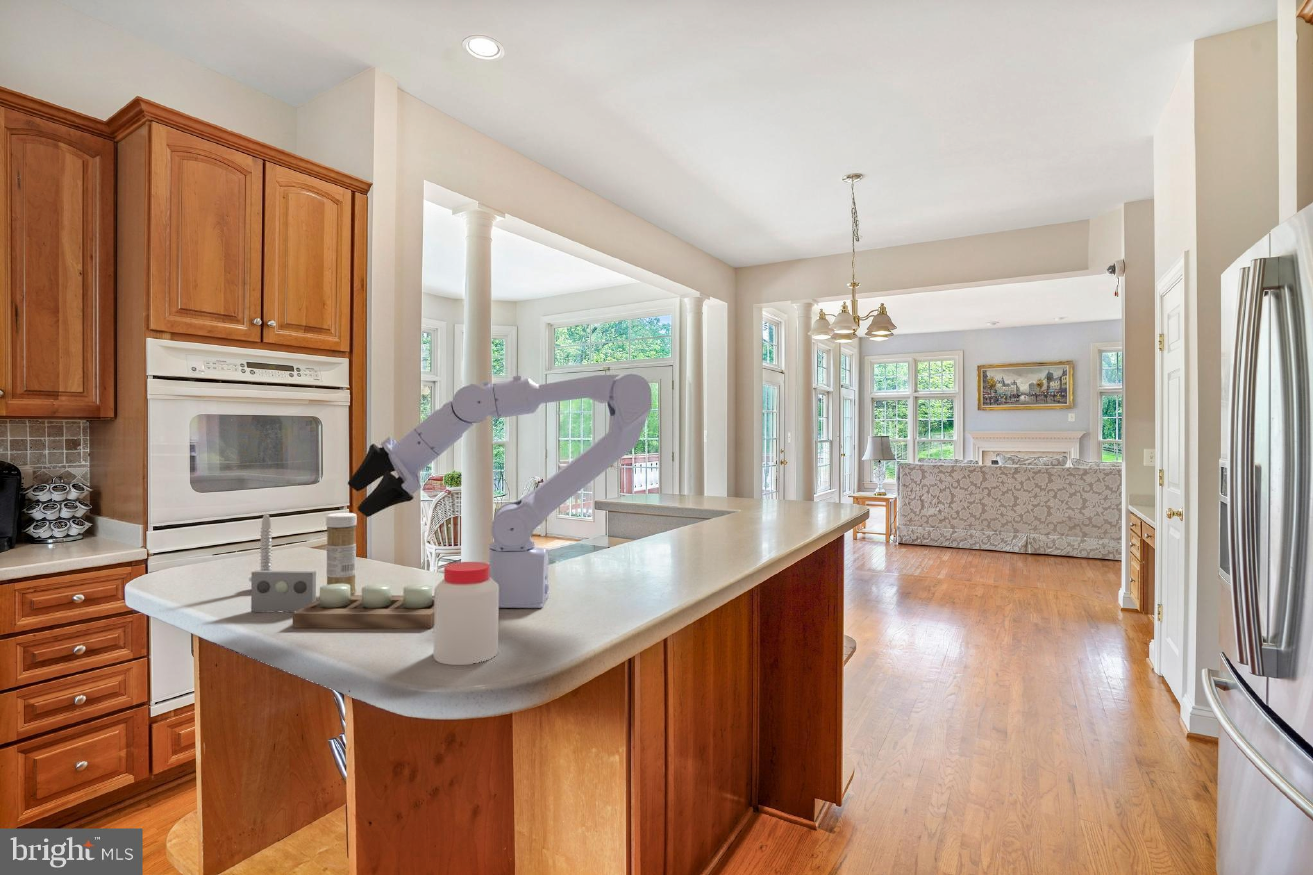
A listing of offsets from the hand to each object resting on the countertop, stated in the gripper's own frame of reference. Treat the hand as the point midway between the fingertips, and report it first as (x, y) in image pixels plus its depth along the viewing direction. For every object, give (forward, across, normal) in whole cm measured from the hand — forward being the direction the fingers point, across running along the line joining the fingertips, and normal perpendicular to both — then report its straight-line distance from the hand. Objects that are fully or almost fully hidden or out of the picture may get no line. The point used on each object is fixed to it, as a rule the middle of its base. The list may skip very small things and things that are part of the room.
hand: (357, 499), depth 99 cm
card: (+19, +3, +5) cm, 20 cm away
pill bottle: (-2, +33, +7) cm, 34 cm away
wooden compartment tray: (+8, +13, +9) cm, 18 cm away
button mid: (+7, +12, +8) cm, 16 cm away
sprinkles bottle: (+15, -2, +13) cm, 20 cm away
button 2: (+2, +16, +11) cm, 19 cm away
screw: (+24, -11, +9) cm, 28 cm away
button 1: (+11, +9, +5) cm, 16 cm away
